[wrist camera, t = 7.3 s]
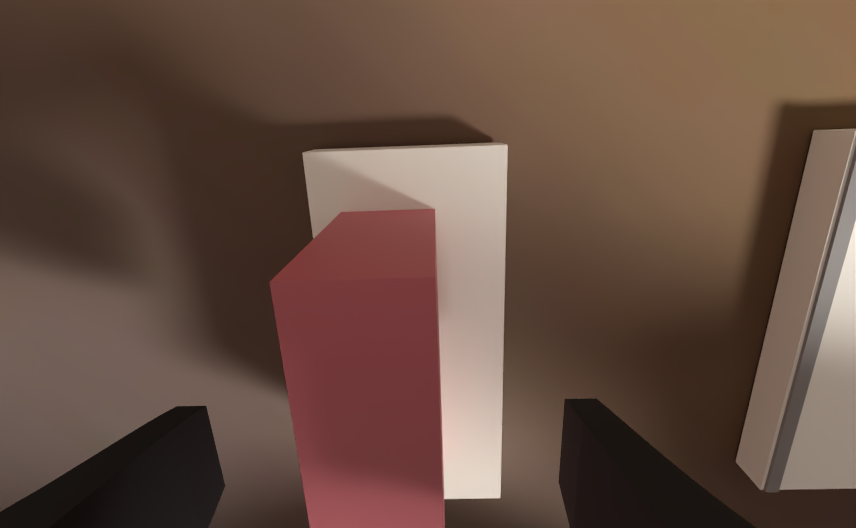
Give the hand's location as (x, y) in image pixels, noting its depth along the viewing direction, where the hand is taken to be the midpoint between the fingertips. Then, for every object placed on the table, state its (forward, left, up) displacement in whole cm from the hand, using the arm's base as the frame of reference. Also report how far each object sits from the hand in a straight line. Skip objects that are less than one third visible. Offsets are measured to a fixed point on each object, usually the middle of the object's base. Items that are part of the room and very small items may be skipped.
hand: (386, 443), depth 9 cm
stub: (0, 0, -5) cm, 5 cm away
